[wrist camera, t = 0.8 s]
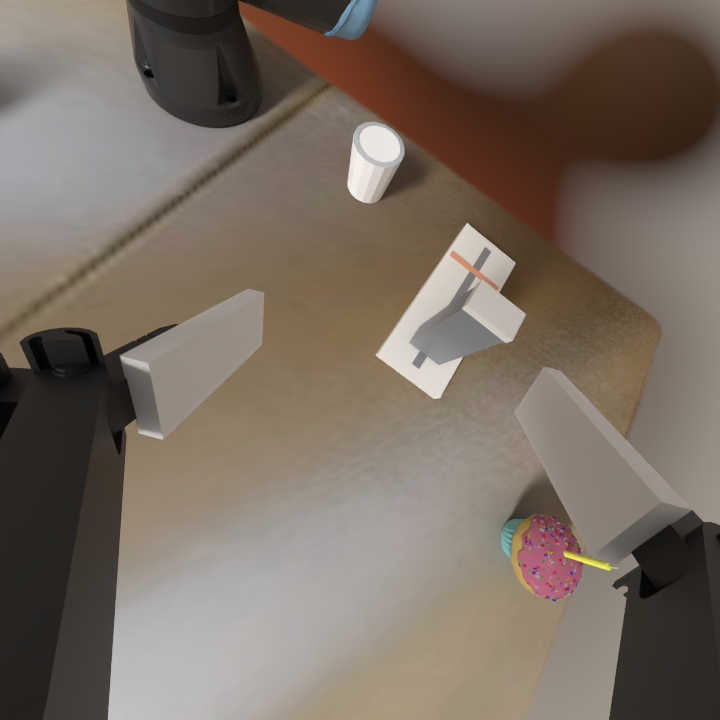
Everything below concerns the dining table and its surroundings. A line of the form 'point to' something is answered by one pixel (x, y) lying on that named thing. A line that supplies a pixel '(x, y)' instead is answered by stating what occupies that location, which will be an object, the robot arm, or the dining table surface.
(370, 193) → the white cup
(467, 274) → the fader base
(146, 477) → the dining table surface
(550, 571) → the cupcake
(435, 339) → the fader tab
